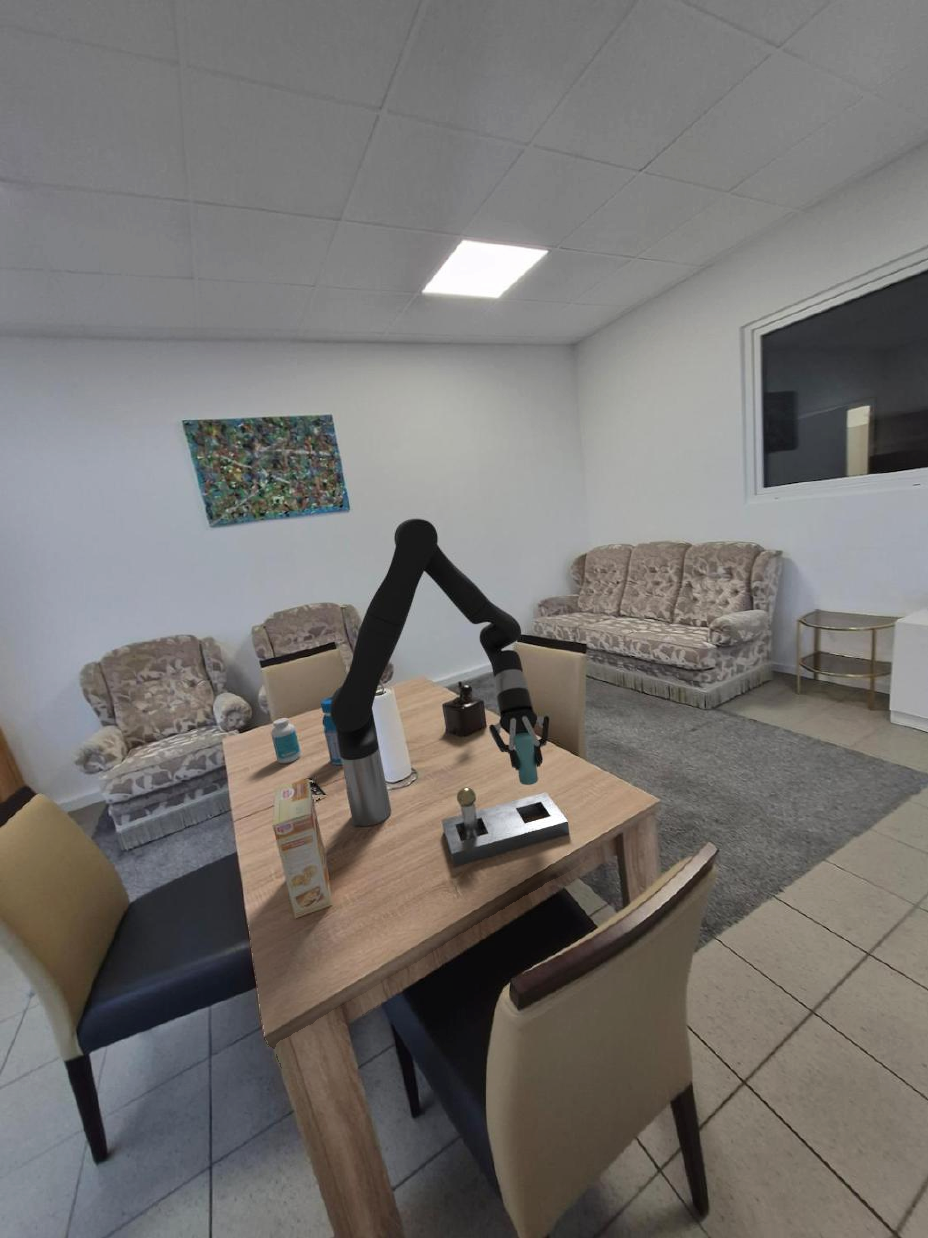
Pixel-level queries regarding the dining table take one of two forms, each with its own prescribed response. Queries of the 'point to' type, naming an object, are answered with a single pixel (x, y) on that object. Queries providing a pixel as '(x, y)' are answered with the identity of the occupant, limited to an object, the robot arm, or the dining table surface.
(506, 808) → the hole plate
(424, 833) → the dining table surface
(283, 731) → the pill bottle
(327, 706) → the beverage bottle
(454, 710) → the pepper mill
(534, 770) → the teal peg
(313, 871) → the coffeecake box
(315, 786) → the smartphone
